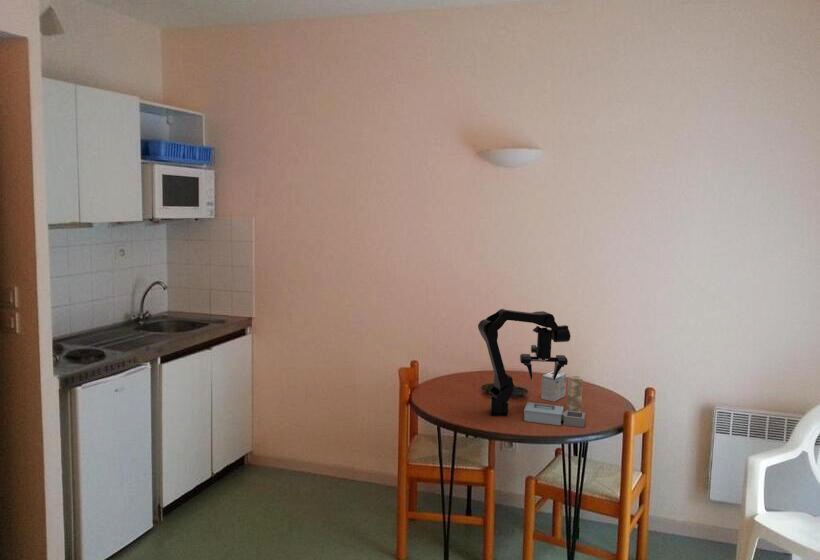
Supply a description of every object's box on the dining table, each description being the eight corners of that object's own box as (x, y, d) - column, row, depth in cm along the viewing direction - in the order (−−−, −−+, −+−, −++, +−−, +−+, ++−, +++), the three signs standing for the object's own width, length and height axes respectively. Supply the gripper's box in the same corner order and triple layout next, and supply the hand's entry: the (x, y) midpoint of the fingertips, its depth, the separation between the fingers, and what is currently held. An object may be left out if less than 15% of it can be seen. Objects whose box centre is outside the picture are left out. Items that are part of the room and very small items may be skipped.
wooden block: (570, 414, 267) (572, 379, 265) (566, 411, 271) (568, 376, 269) (580, 414, 267) (582, 379, 265) (577, 411, 272) (579, 376, 270)
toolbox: (523, 421, 259) (524, 405, 258) (527, 412, 268) (528, 398, 268) (583, 428, 252) (584, 413, 251) (584, 419, 261) (585, 404, 261)
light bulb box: (552, 393, 296) (553, 370, 294) (565, 396, 292) (567, 372, 290) (540, 398, 288) (541, 374, 286) (554, 402, 283) (555, 377, 282)
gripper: (563, 339, 276) (562, 375, 278) (519, 337, 277) (517, 373, 279) (568, 345, 265) (566, 382, 267) (522, 343, 266) (520, 381, 268)
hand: (542, 379), depth 270 cm, fingers open, 9 cm apart
